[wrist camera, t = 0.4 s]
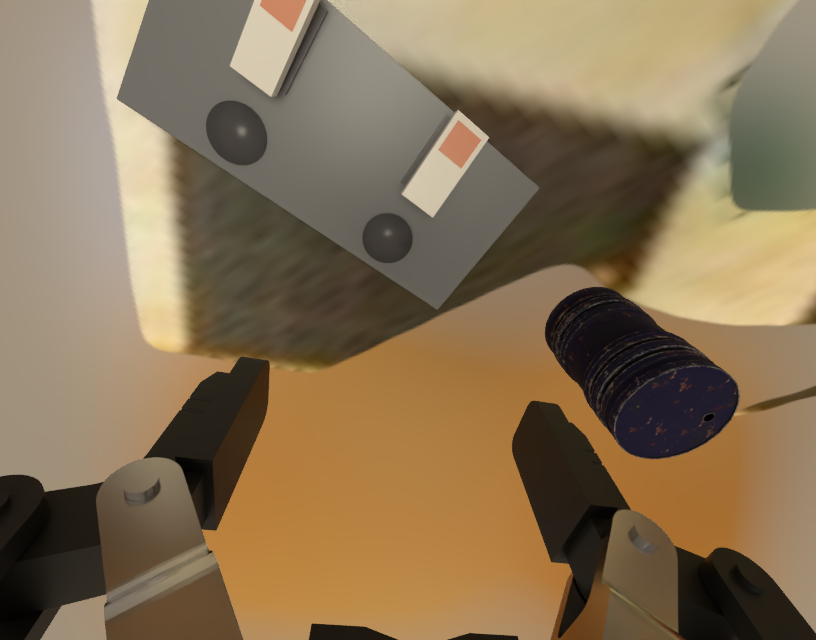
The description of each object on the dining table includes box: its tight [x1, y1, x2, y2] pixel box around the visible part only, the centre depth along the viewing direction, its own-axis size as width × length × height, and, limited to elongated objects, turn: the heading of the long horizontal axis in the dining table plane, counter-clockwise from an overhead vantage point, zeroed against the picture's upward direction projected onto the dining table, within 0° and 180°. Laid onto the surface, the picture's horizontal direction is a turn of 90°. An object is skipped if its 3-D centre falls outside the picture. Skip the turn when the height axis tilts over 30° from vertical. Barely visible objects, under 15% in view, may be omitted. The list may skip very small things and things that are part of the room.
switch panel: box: [117, 0, 539, 310], centre depth 31 cm, size 14×30×4 cm, turn 54°
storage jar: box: [545, 287, 740, 459], centre depth 36 cm, size 10×10×15 cm
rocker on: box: [400, 110, 489, 217], centre depth 28 cm, size 7×3×1 cm, turn 144°
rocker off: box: [230, 0, 320, 97], centre depth 24 cm, size 7×3×1 cm, turn 144°
